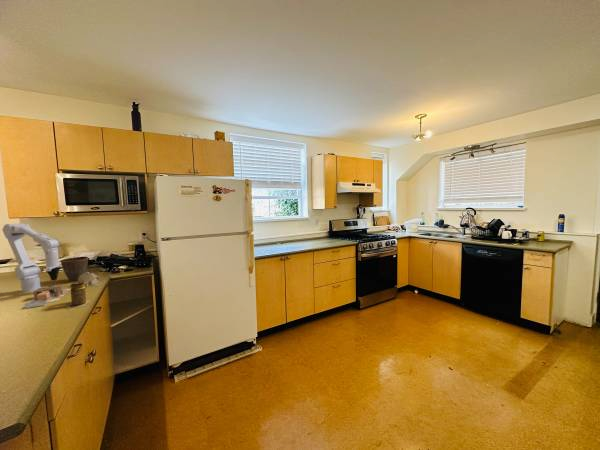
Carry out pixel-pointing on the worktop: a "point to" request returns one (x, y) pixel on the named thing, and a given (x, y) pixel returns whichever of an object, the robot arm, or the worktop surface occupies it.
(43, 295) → the block
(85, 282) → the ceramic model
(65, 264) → the plant pot
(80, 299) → the condiment
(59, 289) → the tunnel deck
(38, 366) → the worktop surface
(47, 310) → the worktop surface
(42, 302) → the slider frame
